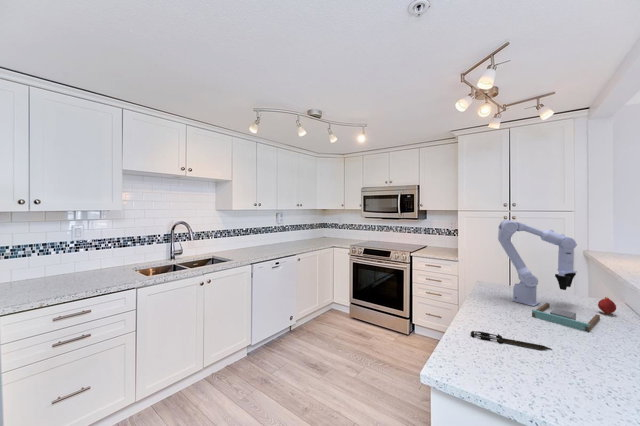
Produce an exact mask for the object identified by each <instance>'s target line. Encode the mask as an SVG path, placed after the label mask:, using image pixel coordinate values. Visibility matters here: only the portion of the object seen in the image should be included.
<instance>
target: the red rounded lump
mask: <svg viewBox="0 0 640 426" xmlns="http://www.w3.org/2000/svg"><path fill="white" fill-rule="evenodd" d="M597 307H598V308H599V309H600V311H602V312H603V313H604V314H605V315H610V314H613V313H615V312H616V310H617V305H616V303H615V302H614V301H613V300H611V299H610V298H609V297H607V296H605V297H604V298H602V299H600V300H599V301H598V303H597Z"/></svg>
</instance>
